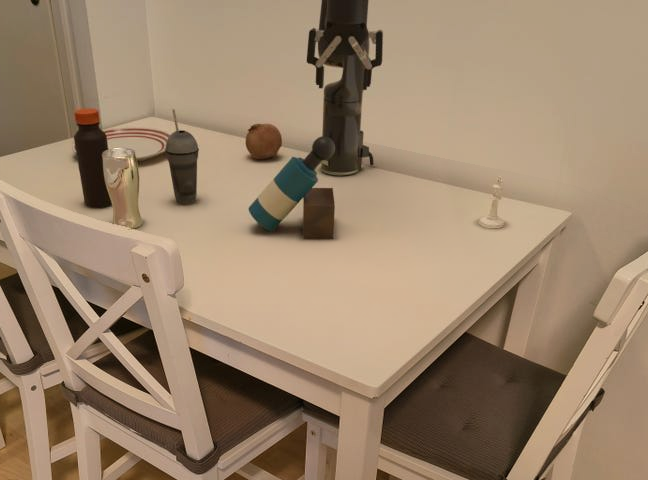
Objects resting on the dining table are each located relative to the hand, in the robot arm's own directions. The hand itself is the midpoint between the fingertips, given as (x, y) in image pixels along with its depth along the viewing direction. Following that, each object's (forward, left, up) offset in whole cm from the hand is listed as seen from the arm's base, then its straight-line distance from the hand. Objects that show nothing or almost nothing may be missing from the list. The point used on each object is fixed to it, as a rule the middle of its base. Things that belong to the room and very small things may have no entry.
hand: (342, 88), depth 133 cm
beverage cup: (+25, -24, -26) cm, 43 cm away
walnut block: (+8, +5, -26) cm, 27 cm away
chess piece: (-24, +21, -26) cm, 41 cm away
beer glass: (+41, -18, -26) cm, 51 cm away
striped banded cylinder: (+13, +2, -26) cm, 29 cm away
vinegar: (+42, -33, -26) cm, 59 cm away
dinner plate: (+24, -66, -26) cm, 75 cm away
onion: (-6, -43, -26) cm, 50 cm away
